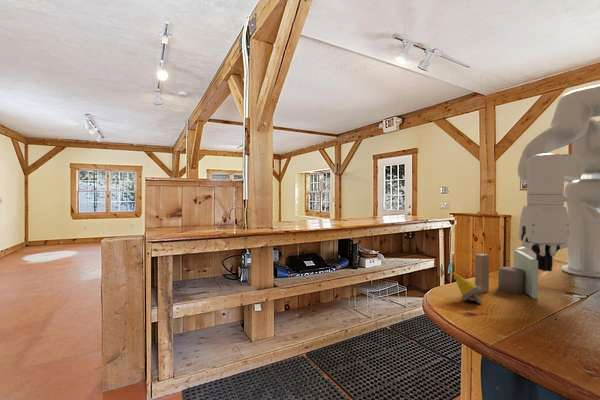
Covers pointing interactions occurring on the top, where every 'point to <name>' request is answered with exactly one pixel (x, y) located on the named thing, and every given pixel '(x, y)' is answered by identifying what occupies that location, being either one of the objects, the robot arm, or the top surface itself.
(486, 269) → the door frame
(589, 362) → the top surface
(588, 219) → the robot arm
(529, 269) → the door
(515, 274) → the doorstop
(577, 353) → the top surface
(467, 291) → the drill bit
